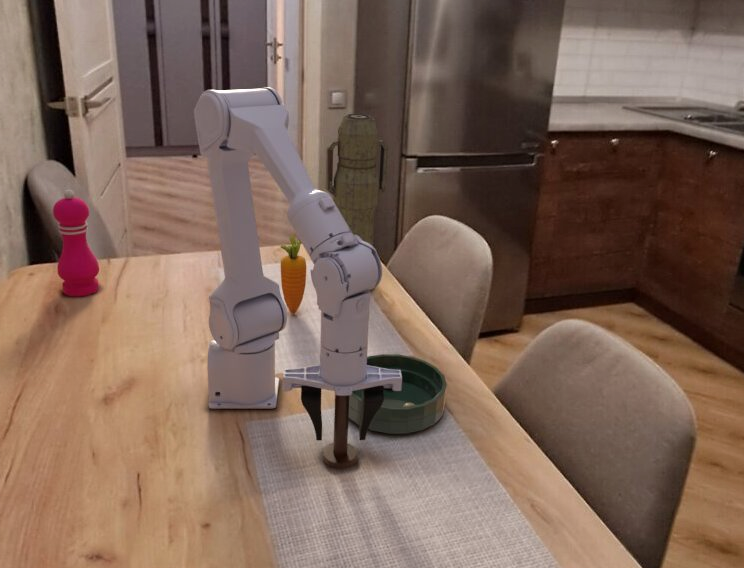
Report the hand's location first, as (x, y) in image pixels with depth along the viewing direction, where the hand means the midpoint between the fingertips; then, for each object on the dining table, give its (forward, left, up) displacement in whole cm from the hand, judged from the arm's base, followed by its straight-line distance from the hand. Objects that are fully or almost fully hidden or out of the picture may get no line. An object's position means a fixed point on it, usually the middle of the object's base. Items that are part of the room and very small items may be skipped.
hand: (340, 435), depth 86 cm
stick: (0, 0, -3) cm, 3 cm away
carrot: (-8, +43, -4) cm, 44 cm away
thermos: (+3, +57, -4) cm, 57 cm away
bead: (+10, +8, -2) cm, 13 cm away
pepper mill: (-49, +52, -4) cm, 72 cm away
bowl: (+8, +12, -3) cm, 15 cm away
